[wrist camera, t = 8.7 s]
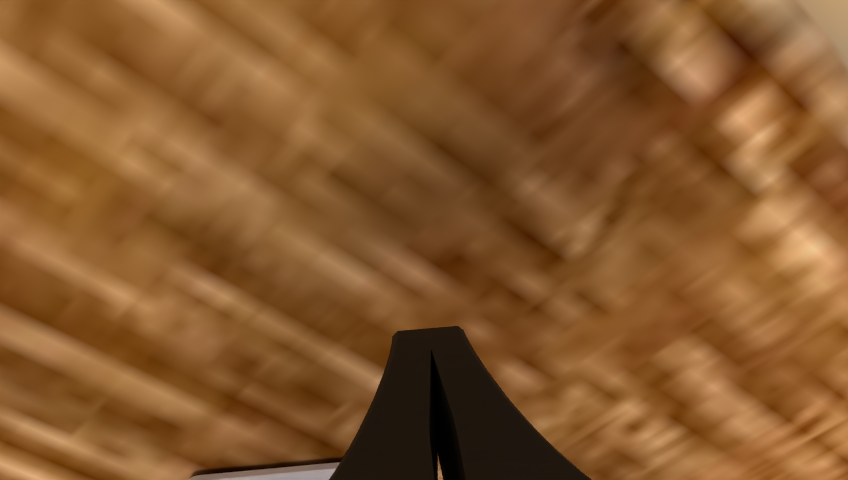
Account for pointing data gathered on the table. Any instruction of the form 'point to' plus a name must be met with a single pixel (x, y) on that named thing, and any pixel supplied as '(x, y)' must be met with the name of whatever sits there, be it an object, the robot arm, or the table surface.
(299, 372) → the table surface
